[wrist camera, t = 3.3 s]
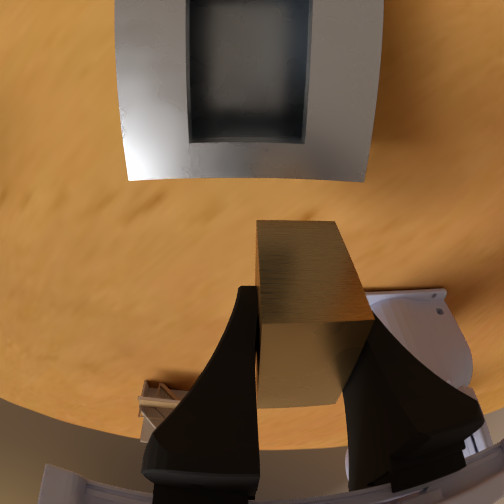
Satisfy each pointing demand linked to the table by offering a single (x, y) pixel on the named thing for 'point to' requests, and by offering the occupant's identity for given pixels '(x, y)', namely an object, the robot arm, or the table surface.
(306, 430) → the table surface
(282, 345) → the tan wooden block
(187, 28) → the grey square frame
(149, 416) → the architectural model
